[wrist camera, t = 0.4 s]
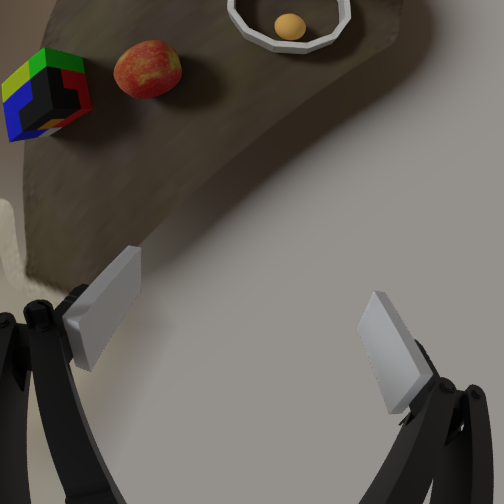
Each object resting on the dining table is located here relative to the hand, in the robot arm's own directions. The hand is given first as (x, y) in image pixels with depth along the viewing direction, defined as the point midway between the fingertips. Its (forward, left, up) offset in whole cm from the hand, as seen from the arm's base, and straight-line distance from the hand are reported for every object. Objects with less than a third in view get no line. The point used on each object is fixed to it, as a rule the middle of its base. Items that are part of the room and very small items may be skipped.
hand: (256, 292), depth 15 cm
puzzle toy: (-17, -31, -26) cm, 44 cm away
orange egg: (-23, +4, -26) cm, 35 cm away
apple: (-17, -14, -26) cm, 34 cm away
